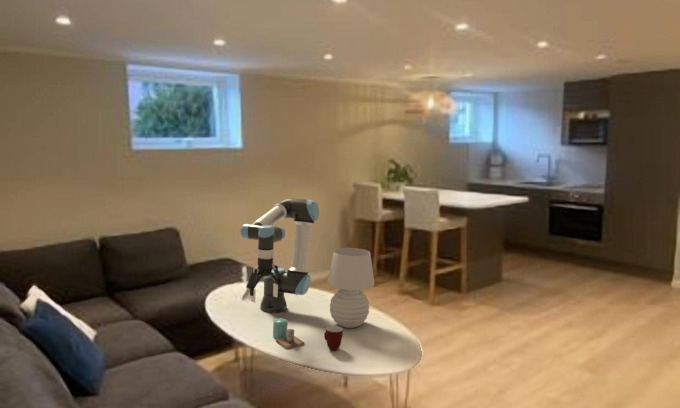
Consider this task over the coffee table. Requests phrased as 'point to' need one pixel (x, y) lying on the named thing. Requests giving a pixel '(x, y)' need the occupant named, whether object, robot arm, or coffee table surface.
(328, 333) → the mug
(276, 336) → the cap
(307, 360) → the coffee table surface
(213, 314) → the coffee table surface
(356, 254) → the table lamp
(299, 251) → the robot arm
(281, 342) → the post base
